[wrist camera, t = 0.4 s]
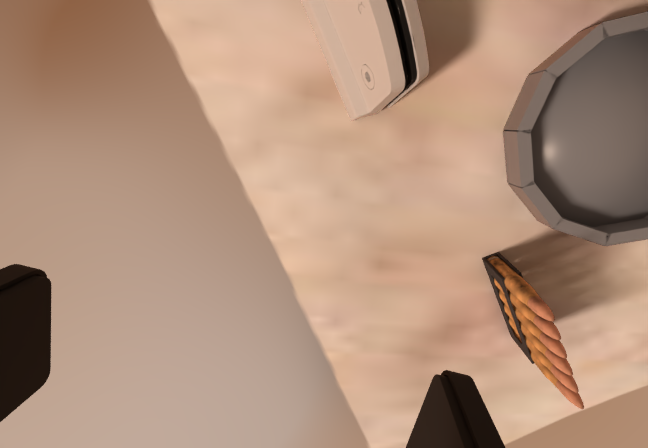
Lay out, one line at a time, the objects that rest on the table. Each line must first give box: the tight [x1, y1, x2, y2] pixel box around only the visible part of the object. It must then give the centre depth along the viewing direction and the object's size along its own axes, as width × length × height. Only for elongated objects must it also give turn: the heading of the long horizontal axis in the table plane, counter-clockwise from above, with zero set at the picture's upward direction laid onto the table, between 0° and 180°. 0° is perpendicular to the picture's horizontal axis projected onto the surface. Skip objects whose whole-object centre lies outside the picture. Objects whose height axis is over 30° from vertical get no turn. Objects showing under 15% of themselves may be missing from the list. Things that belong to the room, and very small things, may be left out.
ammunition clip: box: [482, 252, 584, 409], centre depth 34 cm, size 11×2×12 cm, turn 25°
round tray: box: [503, 11, 648, 246], centre depth 33 cm, size 20×20×3 cm
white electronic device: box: [301, 0, 429, 121], centre depth 30 cm, size 17×5×10 cm, turn 24°
